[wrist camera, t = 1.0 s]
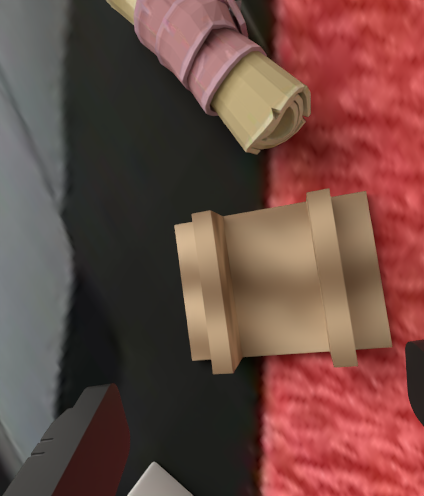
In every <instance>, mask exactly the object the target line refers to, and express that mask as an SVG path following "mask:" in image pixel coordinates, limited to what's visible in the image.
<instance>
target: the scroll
mask: <svg viewBox="0 0 424 496" xmlns="http://www.w3.org/2000/svg"><path fill="white" fill-rule="evenodd" d="M106 1H107V2H108V3H109V4H110V5H111V7H113V8H114V9H115V10H117V11H118V12H119V13H120V14H121V15H122V16H124V17H125V18H126V19H127V20H128V21H130V22H131V23H132V24H133V25H134V26H135V32H136V34H137V36H138V38H139V40H140V42H141V43H142V44H143V45H145V46H146V47H147V48H148V49H150V50H151V51H152V52H153V53H154V54H156V55H157V57H158V59H159V61H160V63H161V64H162V65H163V66H165V67H166V68H167V69H169V70H170V71H171V72H173V73H174V74H175V75H176V77H177V78H178V79H179V80H180V81H181V83H182V84H183V85H184V86H185V88H186V89H187V90H189V91H191V92H192V93H193V95H194V96H195V98H196V99H197V101H198V102H199V104H200V105H201V107H202V108H203V110H204V111H205V112H206V114H209V115H211V116H219V117H220V118H221V119H222V121H223V122H224V123H225V125H226V126H227V127H228V129H229V130H230V131H231V133H232V134H233V136H234V137H235V138H236V140H237V141H238V142H239V144H240V145H241V146H242V148H243V149H244V150H245V152H250V153H253V154H258V153H259V152H260V150H259V149H268V148H273V147H275V146H277V145H279V144H281V143H283V142H285V141H287V140H288V139H289V138H290V137H292V136H293V135H294V134H295V133H297V132H298V131H299V130H300V128H301V127H302V126H303V125H304V123H305V122H306V121H305V120H304V118H303V117H302V115H303V116H306V117H309V116H310V114H311V93H310V91H309V89H308V87H307V86H306V85H304V84H303V83H302V82H300V81H299V80H297V79H296V78H295V77H293V76H292V75H291V74H289V73H288V72H286V71H285V70H284V69H282V68H281V67H280V66H278V65H277V64H276V63H274V62H273V61H272V60H270V59H269V58H268V57H267V54H266V53H265V52H264V50H263V49H262V48H261V47H260V46H259V45H257V44H256V43H254V42H253V41H251V40H250V39H248V33H247V27H246V23H245V20H244V18H243V16H242V14H241V11H240V9H241V2H242V1H235V0H106Z"/></svg>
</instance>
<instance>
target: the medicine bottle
mask: <svg viewBox="0 0 424 496" xmlns="http://www.w3.org/2000/svg"><path fill="white" fill-rule="evenodd" d="M127 496H193V495H192V494H191V493H190V492H189V491H188V490H187V489H185V488H184V487H183V486H182V485H181V484H180V483H179V482H178V481H176V480H175V479H174V478H173V477H172V476H171V475H170V474H169V473H168V472H166V471H165V470H164V469H163V468H162V467H161V466H160V465H159V464H157V463H156V462H153V463H151V464H150V466H149V467H148V468H147V470H146V471H145V472H144V474H143V475H142V477H141V478H140V479H139V481H138V482H137V483H136V485H135V486H134V487H133V489H132V490H131V491H130V493H129V494H128V495H127Z"/></svg>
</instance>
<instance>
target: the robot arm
mask: <svg viewBox="0 0 424 496" xmlns="http://www.w3.org/2000/svg"><path fill="white" fill-rule="evenodd" d="M405 355H406V371H407V387H408V397H409V401H410V404H411V407H412V409H413V411H414V413H415V415H416V417H417V418H418V420H419V421H420V422H421V423H422V425H423V426H424V340H417V341H411V342H408V343H407V344H406V347H405ZM129 448H130V433H129V428H128V424H127V421H126V417H125V413H124V409H123V405H122V402H121V398H120V394H119V391H118V388H117V386H116V385H115V384H113V383H112V384H105V385H98V386H91V387H87V388H86V389H85V390H84V391H83V393H82V394H81V396H80V398H79V399H78V401H77V402H76V404H75V405H74V407H73V408H70V409H67V410H66V411H65V412H64V413H63V414H62V415H61V416H59V417H58V418H57V419H56V420H55V421H54V422H53V423H52V424H51V425H50V427H49V428H48V429H47V431H46V432H45V434H44V435H43V437H42V438H41V442H40V443H38V444H37V446H36V447H35V449H34V450H33V452H32V453H31V457H28V459H27V460H26V462H25V463H24V465H23V466H22V468H21V469H20V471H19V472H18V474H17V475H16V477H15V478H14V479H13V481H12V482H11V484H10V485H9V487H8V488H7V490H6V491H5V493H4V494H3V496H115V494H116V491H117V488H118V485H119V482H120V479H121V475H122V472H123V469H124V466H125V463H126V460H127V457H128V454H129Z"/></svg>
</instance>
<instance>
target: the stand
mask: <svg viewBox="0 0 424 496" xmlns="http://www.w3.org/2000/svg"><path fill="white" fill-rule="evenodd" d="M192 221H193V222H190V223H184V224H179V225H175V233H176V241H177V248H178V256H179V263H180V271H181V278H182V286H183V294H184V301H185V309H186V316H187V324H188V331H189V339H190V347H191V354H192V361H193V360H208V359H211V361H212V368H213V374H224V373H233V372H234V371H235V369H236V367H237V366H238V364H239V362H240V361H241V359H242V358H243V357H252V356H267V355H282V354H297V353H312V352H327V351H330V354H331V357H332V361H333V365H334V367H351V366H358V362H357V356H356V350H357V349H372V348H387V347H392V341H391V335H390V330H389V324H388V318H387V312H386V306H385V300H384V294H383V288H382V282H381V277H380V271H379V265H378V259H377V253H376V247H375V241H374V235H373V229H372V223H371V218H370V212H369V206H368V200H367V194H366V191H363V192H357V193H352V194H346V195H341V196H335V197H331V196H330V190H329V189H323V190H318V191H312V192H307V196H306V202H302V203H296V204H290V205H285V206H279V207H274V208H268V209H263V210H257V211H251V212H246V213H240V214H235V215H229V216H221V215H219V214H217V213H215V212H212V211H205V212H199V213H194V214H192Z"/></svg>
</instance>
